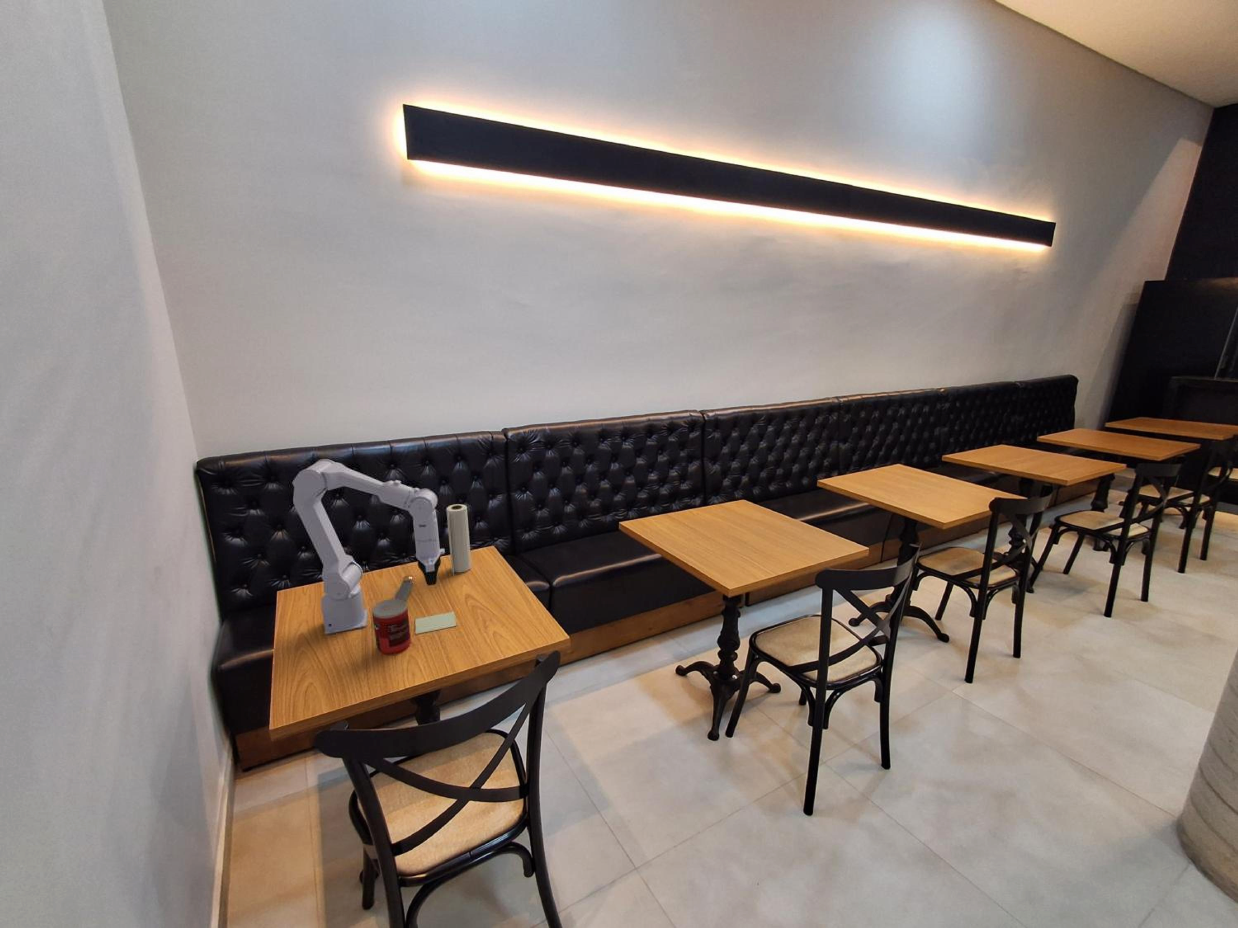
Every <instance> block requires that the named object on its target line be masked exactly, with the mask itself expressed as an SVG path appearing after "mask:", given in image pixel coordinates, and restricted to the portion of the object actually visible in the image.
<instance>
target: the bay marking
mask: <svg viewBox="0 0 1238 928" xmlns="http://www.w3.org/2000/svg"><path fill="white" fill-rule="evenodd" d="M456 621H457V620H456V616H455V611H451V612H445V613H440V614H435V615H430V616H425V617H420V618H415V620H414V622H415V635H420V634H426V633H430V632H434V631H440V630H444V629H450V628H453V627H457V622H456Z"/></svg>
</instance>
